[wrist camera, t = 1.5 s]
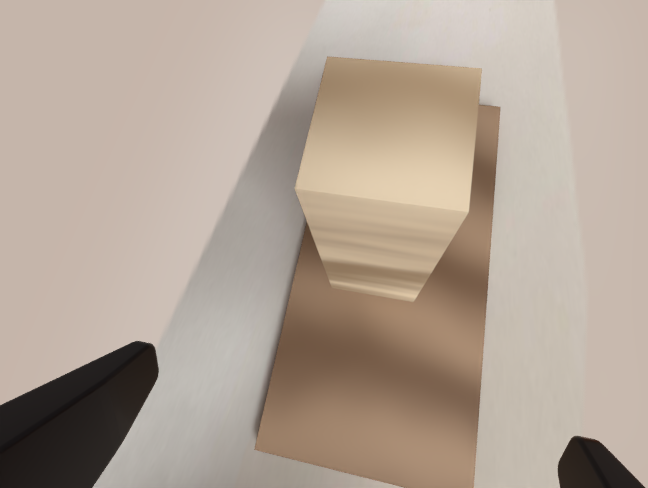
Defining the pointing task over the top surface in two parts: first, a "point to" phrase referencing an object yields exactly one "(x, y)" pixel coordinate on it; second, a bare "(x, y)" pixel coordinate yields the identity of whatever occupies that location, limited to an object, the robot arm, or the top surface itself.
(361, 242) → the beech pillar
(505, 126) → the top surface
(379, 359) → the tan flat plate
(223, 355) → the top surface
